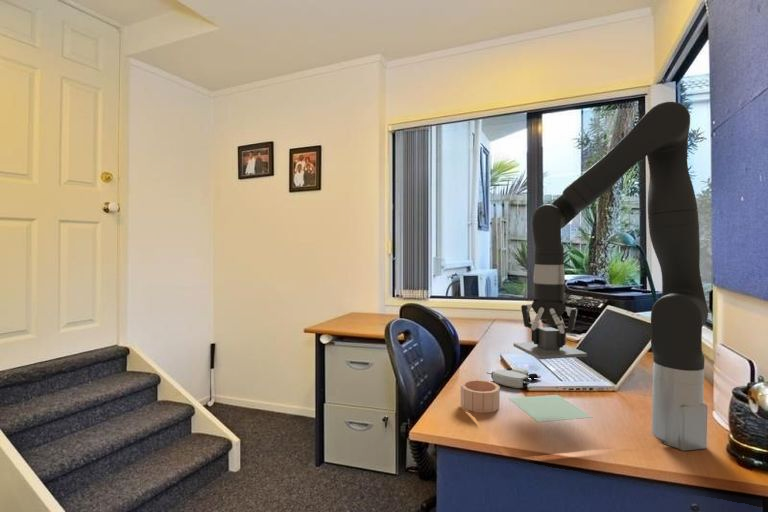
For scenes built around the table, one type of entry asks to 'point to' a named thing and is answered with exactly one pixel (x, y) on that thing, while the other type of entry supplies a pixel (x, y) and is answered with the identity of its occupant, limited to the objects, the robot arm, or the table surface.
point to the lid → (549, 346)
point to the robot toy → (513, 377)
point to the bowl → (480, 396)
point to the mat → (549, 408)
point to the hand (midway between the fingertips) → (548, 345)
